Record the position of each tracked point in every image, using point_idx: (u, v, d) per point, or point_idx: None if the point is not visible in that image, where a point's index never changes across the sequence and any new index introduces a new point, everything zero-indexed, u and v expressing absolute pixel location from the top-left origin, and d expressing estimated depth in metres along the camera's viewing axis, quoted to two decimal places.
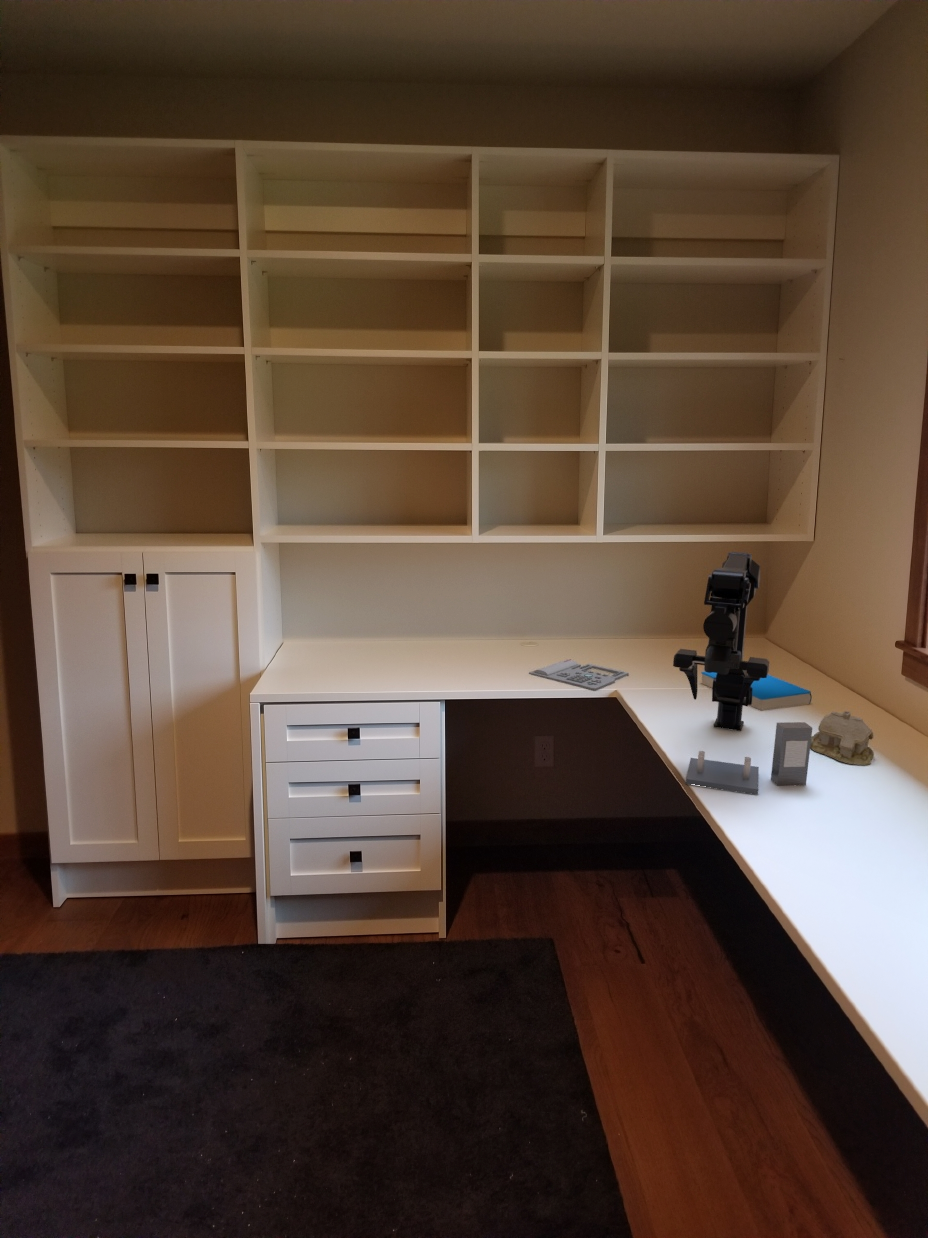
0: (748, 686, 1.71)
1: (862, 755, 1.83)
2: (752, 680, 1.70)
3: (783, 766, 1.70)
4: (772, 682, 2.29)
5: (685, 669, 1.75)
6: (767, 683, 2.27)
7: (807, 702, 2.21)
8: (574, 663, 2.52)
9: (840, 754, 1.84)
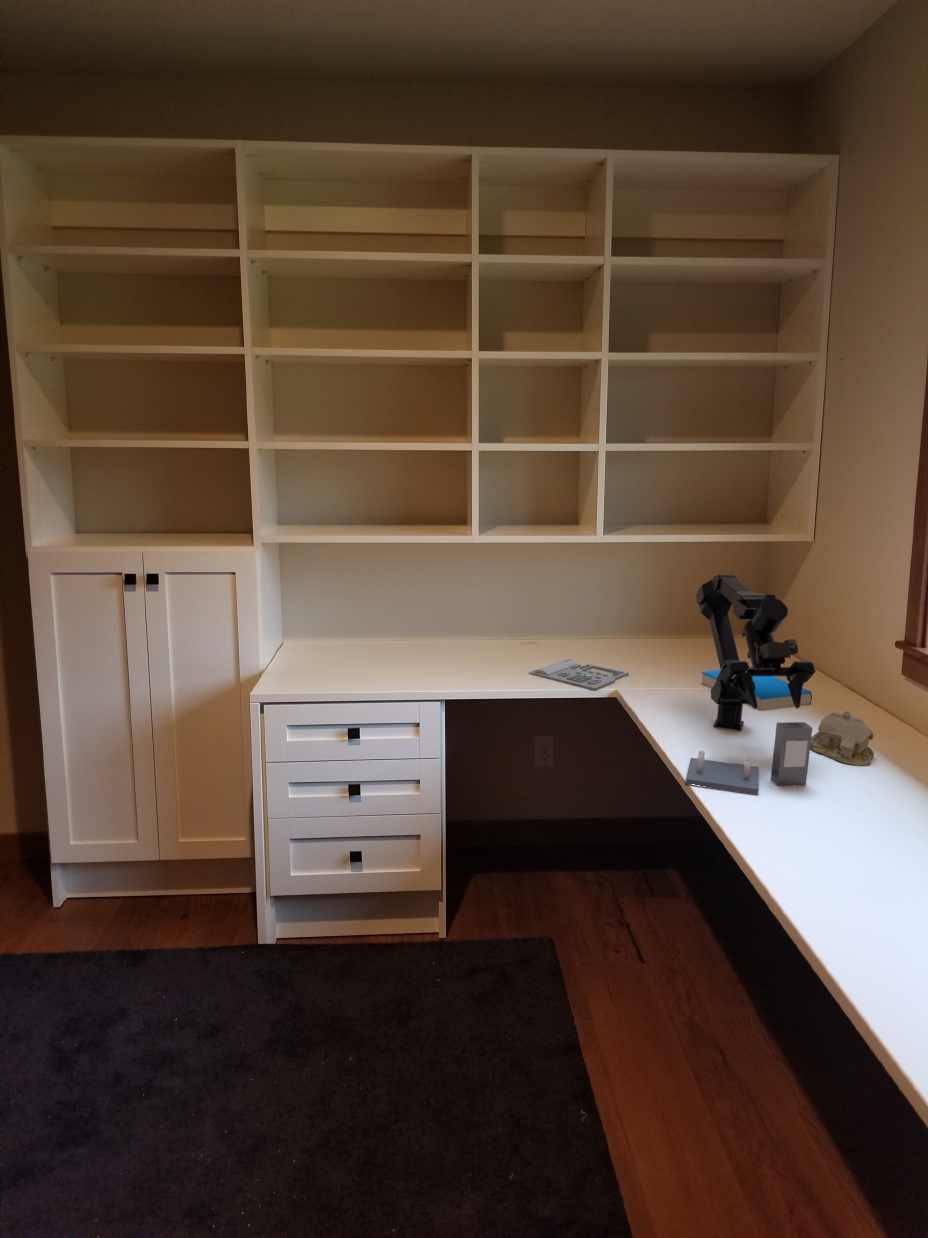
0: (801, 684, 1.79)
1: (862, 755, 1.82)
2: (805, 675, 1.79)
3: (783, 766, 1.70)
4: (772, 682, 2.29)
5: None
6: (767, 683, 2.28)
7: (807, 702, 2.22)
8: (574, 663, 2.52)
9: (840, 754, 1.83)
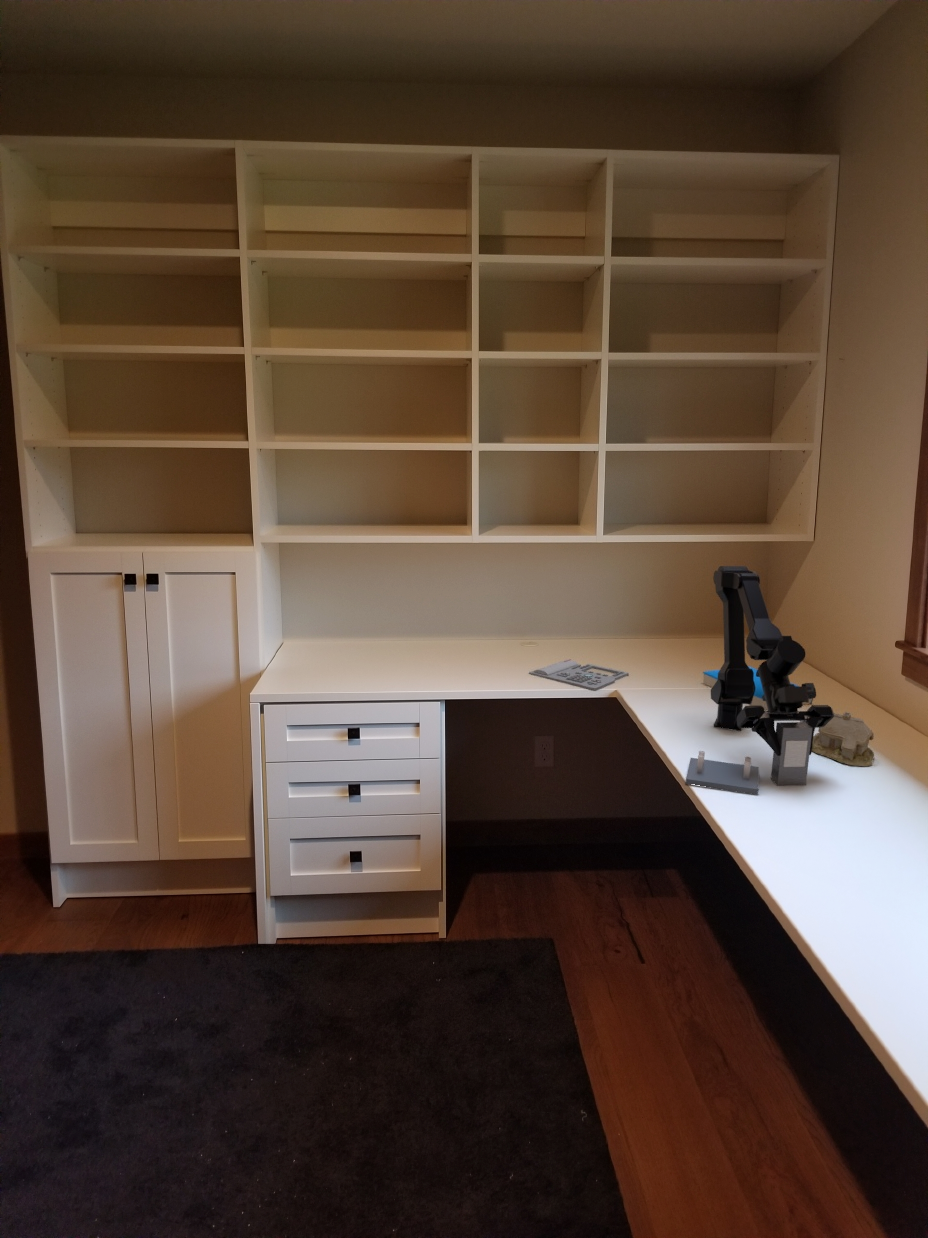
0: (813, 730, 1.71)
1: (863, 756, 1.82)
2: (817, 720, 1.71)
3: (783, 766, 1.70)
4: None
5: None
6: None
7: (809, 702, 2.22)
8: (574, 663, 2.52)
9: (842, 756, 1.83)
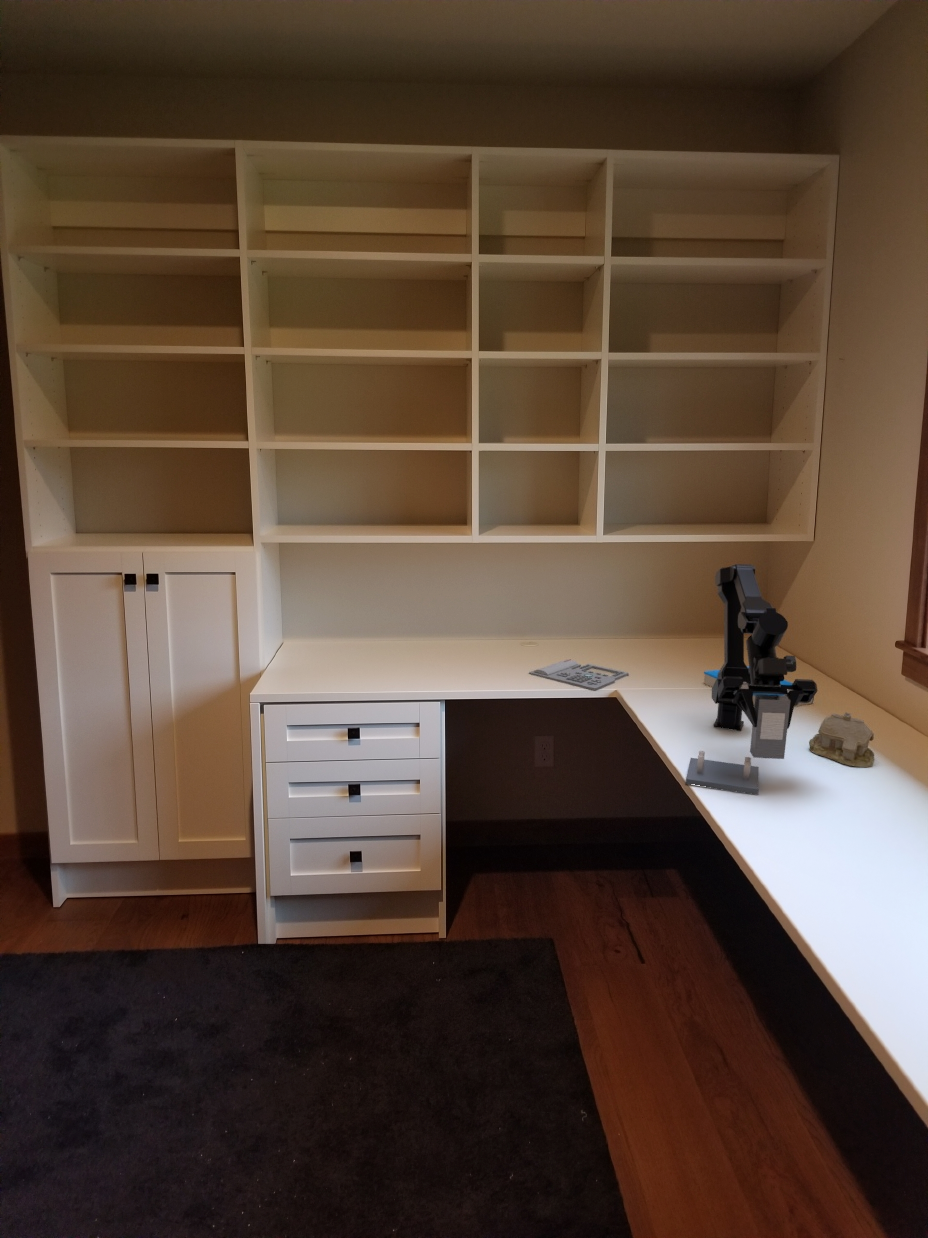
0: (793, 703, 1.69)
1: (864, 757, 1.82)
2: (798, 693, 1.69)
3: (759, 738, 1.69)
4: None
5: None
6: None
7: (809, 702, 2.22)
8: (574, 663, 2.52)
9: (843, 756, 1.82)
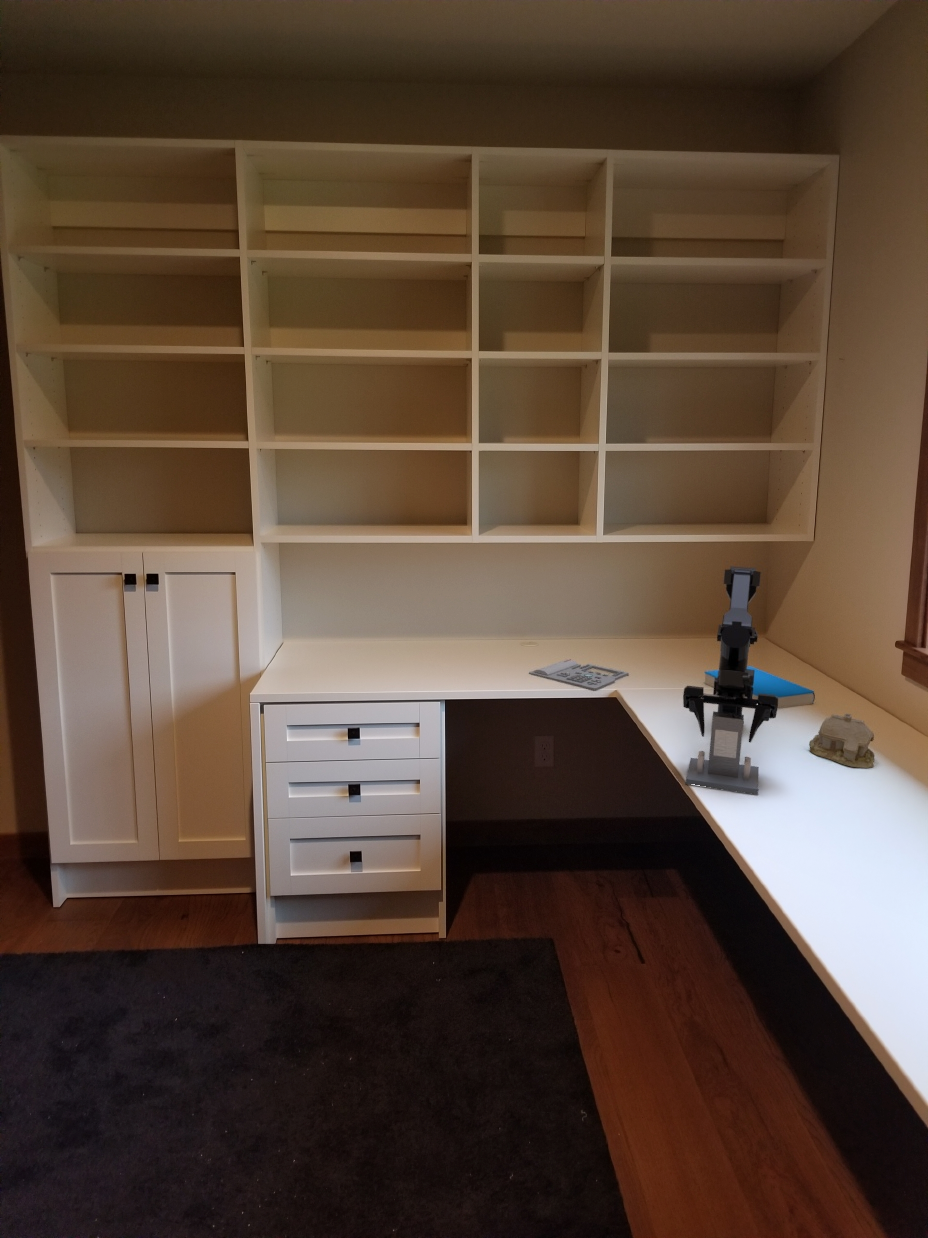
0: (759, 718, 1.70)
1: (865, 758, 1.81)
2: (763, 708, 1.69)
3: (713, 754, 1.72)
4: (775, 682, 2.29)
5: None
6: (770, 683, 2.28)
7: (810, 702, 2.22)
8: (574, 663, 2.52)
9: (844, 757, 1.82)
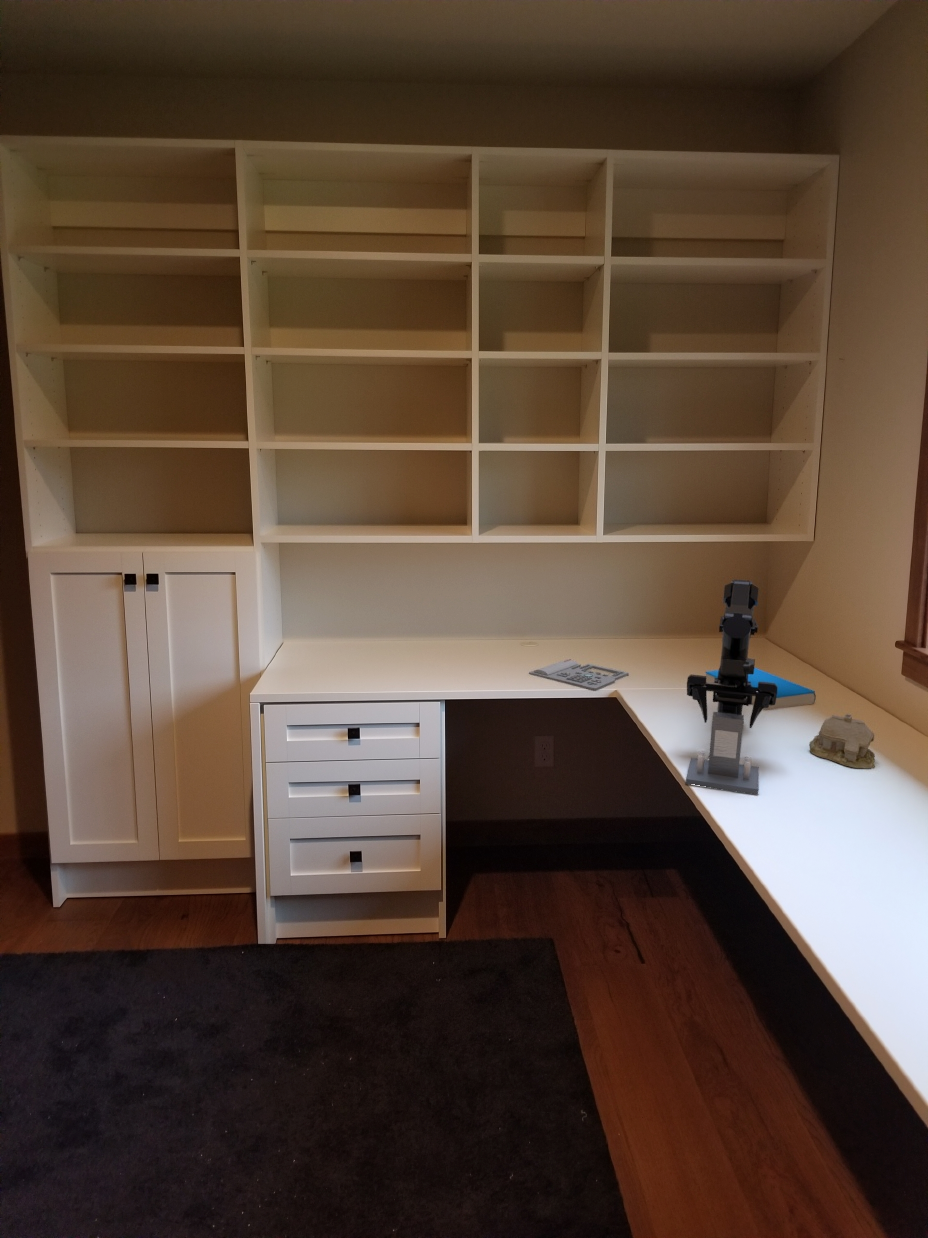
0: (759, 705, 1.78)
1: (866, 758, 1.81)
2: (763, 696, 1.78)
3: (713, 755, 1.72)
4: (776, 682, 2.29)
5: None
6: None
7: (811, 702, 2.22)
8: (574, 663, 2.52)
9: (845, 758, 1.81)
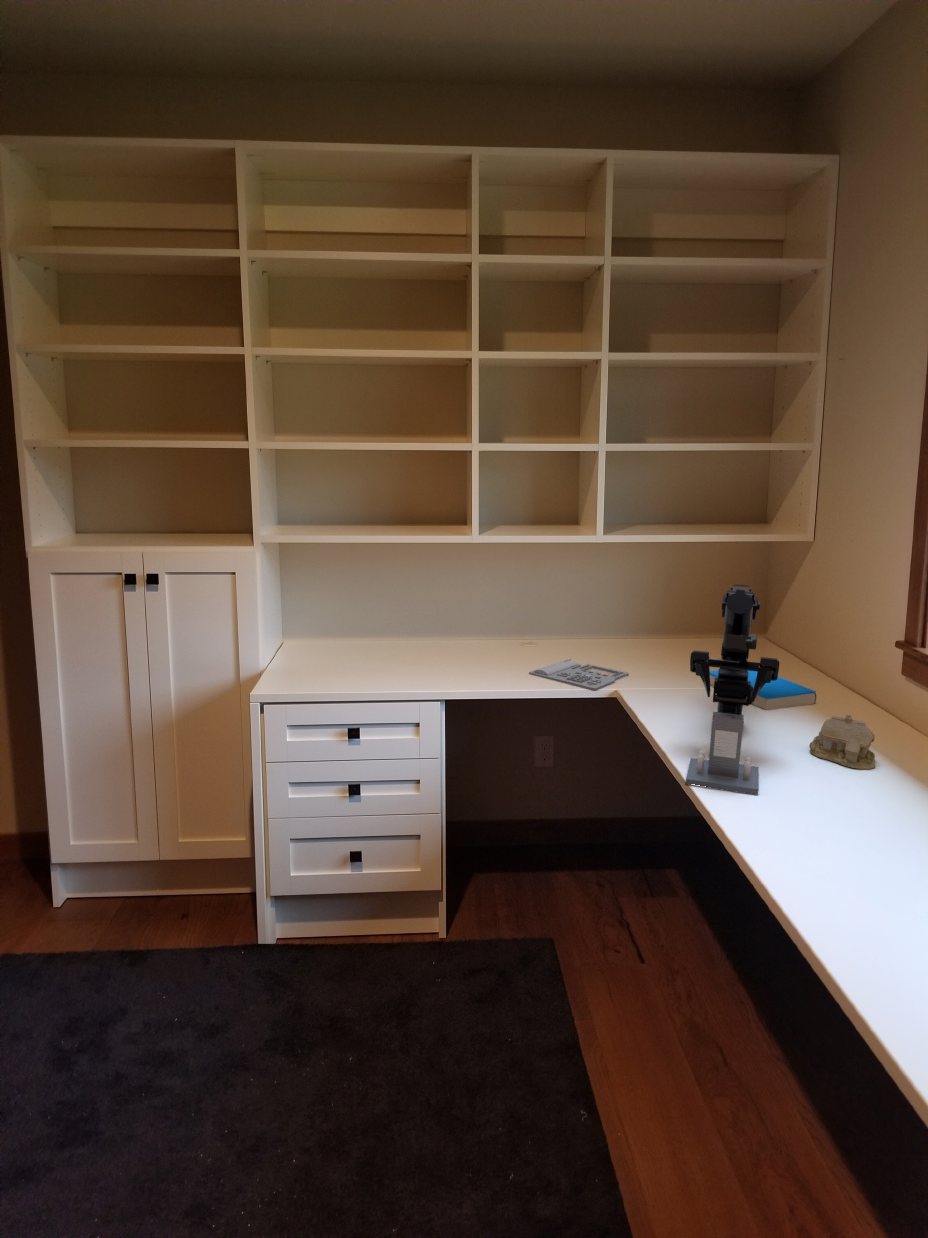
0: (761, 679, 1.81)
1: (867, 759, 1.81)
2: (766, 670, 1.81)
3: (713, 755, 1.72)
4: (776, 682, 2.29)
5: None
6: (772, 683, 2.28)
7: (812, 702, 2.22)
8: (574, 663, 2.52)
9: (846, 759, 1.81)
